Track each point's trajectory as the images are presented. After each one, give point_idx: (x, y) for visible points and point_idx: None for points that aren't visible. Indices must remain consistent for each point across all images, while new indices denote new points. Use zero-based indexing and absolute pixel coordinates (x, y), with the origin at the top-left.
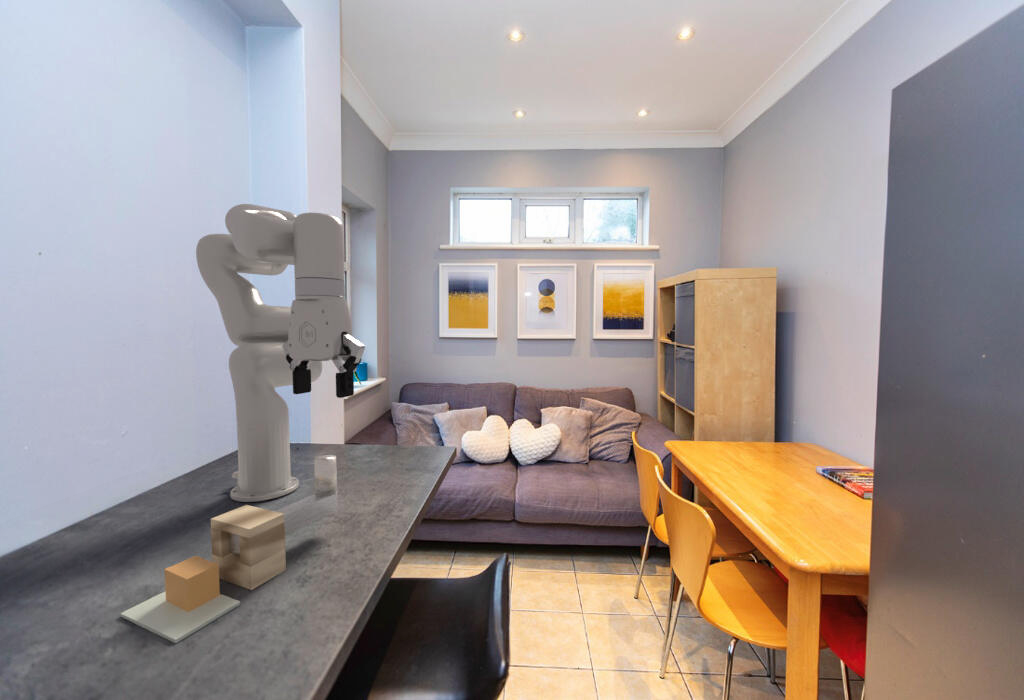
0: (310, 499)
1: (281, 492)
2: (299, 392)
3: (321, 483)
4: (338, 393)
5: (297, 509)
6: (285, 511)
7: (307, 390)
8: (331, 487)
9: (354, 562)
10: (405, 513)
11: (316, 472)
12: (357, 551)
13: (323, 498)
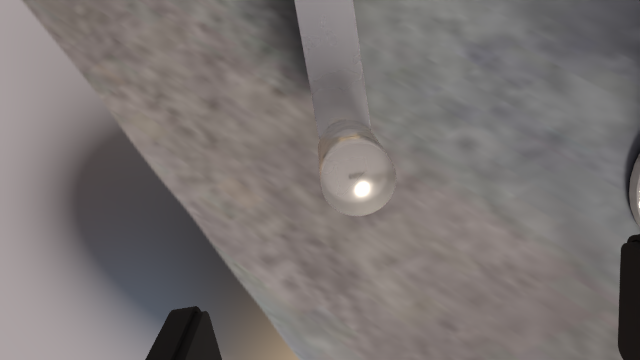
0: (342, 96)
1: (637, 179)
2: (625, 265)
3: (332, 133)
4: (166, 322)
5: (306, 34)
6: (321, 6)
7: (625, 332)
8: (318, 153)
9: (167, 79)
10: (267, 278)
11: (351, 134)
12: (202, 110)
13: (317, 121)
